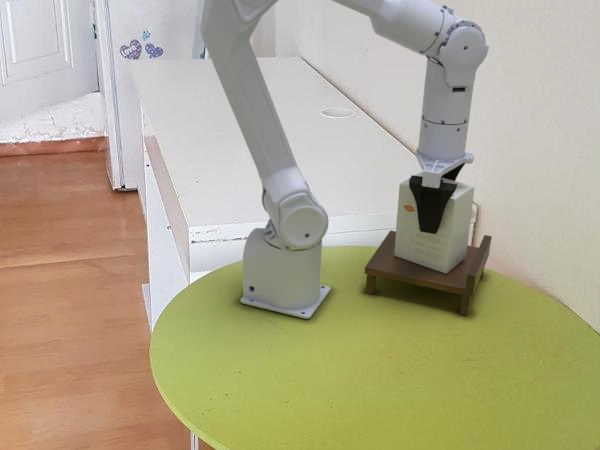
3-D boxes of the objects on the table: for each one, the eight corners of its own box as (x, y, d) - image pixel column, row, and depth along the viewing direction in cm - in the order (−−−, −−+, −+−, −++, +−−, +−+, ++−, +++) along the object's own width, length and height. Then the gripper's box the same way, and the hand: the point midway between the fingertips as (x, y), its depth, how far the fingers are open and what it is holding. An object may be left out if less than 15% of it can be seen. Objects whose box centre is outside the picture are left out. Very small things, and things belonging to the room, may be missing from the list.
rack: (362, 293, 98) (365, 253, 96) (388, 255, 108) (391, 217, 106) (469, 318, 94) (475, 276, 91) (485, 275, 104) (491, 236, 101)
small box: (466, 259, 99) (476, 186, 95) (446, 275, 95) (456, 199, 91) (413, 241, 104) (421, 170, 99) (392, 256, 100) (399, 182, 95)
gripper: (471, 140, 84) (457, 248, 90) (484, 105, 96) (471, 202, 102) (409, 132, 86) (399, 238, 91) (429, 99, 98) (419, 195, 104)
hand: (433, 219), depth 97 cm, fingers open, 7 cm apart
